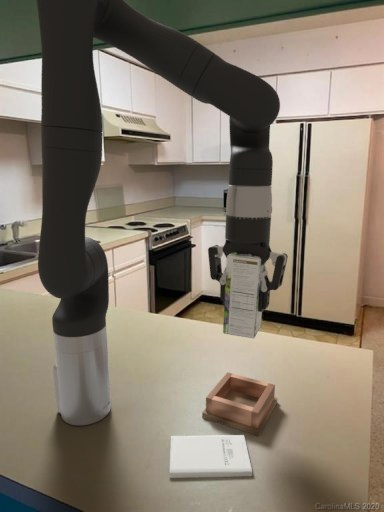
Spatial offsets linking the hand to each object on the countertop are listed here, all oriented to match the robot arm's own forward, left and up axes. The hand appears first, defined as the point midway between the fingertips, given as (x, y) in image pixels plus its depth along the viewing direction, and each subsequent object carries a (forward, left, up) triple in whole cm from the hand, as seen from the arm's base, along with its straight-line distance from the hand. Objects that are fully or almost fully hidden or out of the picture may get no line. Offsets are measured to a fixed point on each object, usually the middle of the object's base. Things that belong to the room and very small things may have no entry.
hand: (244, 306), depth 68 cm
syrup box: (0, 0, -5) cm, 5 cm away
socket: (0, 0, -21) cm, 21 cm away
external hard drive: (0, -14, -22) cm, 26 cm away
